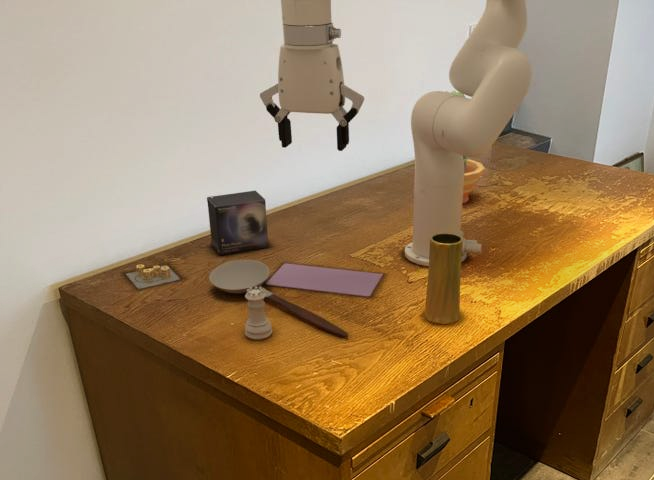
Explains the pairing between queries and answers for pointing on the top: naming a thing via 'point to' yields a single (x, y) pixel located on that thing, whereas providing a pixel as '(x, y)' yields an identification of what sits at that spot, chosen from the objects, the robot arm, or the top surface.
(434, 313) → the vase
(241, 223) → the small box
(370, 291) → the felt mat
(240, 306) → the top surface
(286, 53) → the robot arm
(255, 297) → the rook chess piece
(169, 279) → the dice set
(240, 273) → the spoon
